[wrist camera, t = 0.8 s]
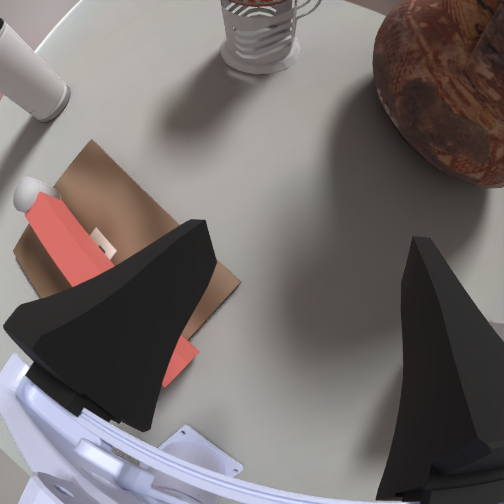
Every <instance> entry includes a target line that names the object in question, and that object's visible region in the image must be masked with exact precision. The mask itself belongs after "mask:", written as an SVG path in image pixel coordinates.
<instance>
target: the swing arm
mask: <svg viewBox="0 0 504 504" xmlns="http://www.w3.org/2000/svg"><path fill="white" fill-rule="evenodd" d="M14 206H15V208H16V209H17V210H18V211H21V212H24V213H26V214H25V217H26V218H27V220H28V222H29V223H30V225H31V227H32V228H33V230H34V231H35V233H36V235H37V236H38V238H39V239H40V241H41V243H42V244H43V246H44V247H45V249H46V250H47V252H48V253H49V255H50V256H51V258H52V259H53V260H54V262H55V263H56V265H57V266H58V268H59V269H60V270H61V272H62V273H63V275H64V276H65V277H66V279H67V280H68V281H69V283H70V284H71V285H72V287H74V286H76V285H78V284H80V283H83V282H85V281H87V280H89V279H91V278H94V277H95V276H97V275H99V274H101V273H103V272H105V271H107V270H109V269H111V268H112V267H114V266H115V265H114V264H113V263H112V262H111V261H110V260H109V258H108V257H107V256H106V255H105V254H104V253H103V251H102V250H101V249H100V248H99V247H98V245H97V244H96V243H95V242H94V241H93V239H92V238H91V237H90V236H89V235H88V233H87V232H86V231H85V230H84V228H83V227H82V226H81V225H80V223H79V222H78V221H77V219H76V218H75V217H74V216H73V214H72V213H71V212H70V210H69V209H68V208H67V206H66V205H65V204H64V202H63V201H62V200H60V194H59V192H58V190H57V189H55V188H53V187H51V186H49V185H47V184H45V183H42V182H40V181H38V180H36V179H34V178H32V177H29V176H28V177H25V178H23V179H22V180H21V181H20V182H19V184H18V185H17V187H16V190H15V193H14ZM198 353H199V351H198V350H197V349H196V348H195V347H194V346H193V345H192V344H191V343H190V342H188V341H187V340H186V339H185V338H184V337H183V336H182V335H181V336H180V338H179V340H178V342H177V345H176V347H175V350H174V352H173V355H172V357H171V360H170V362H169V365H168V368H167V371H166V374H165V376H164V379H163V382H162V386H164V387H166V386H167V385H168V384H169V383H170V382H171V381H172V380H173V379H174V378H175V377H176V376H177V375H178V374H179V373H180V372H181V371H182V370H183V369H184V368H185V367H186V366H187V365H188V364H189V363H190V361H191V360H192V359H193V358H194V357H195V356H196V355H197V354H198Z"/></svg>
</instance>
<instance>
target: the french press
mask: <svg viewBox="0 0 504 504" xmlns="http://www.w3.org/2000/svg"><path fill="white" fill-rule="evenodd" d="M310 1H311V0H308V1H307V2H306V3H304V4H303V5H301V6H298V7H297V0H295V7H294V8H293V9H292V0H221V7H222V13H223V19H224V25H225V31H226V37H225V39H224V41H223V42H222V44H221V56H222V58H223V59H224V61H225V62H226V63H227V65H229V66H231V67H233V68H235V69H236V70H238V71H241V72H246V73H251V74H272V73H275V72H278V71H281V70H284V69H287V68H288V67H290V66H291V65H292V64H293V63H295V62H296V61H297V60H298V57H299V55H300V52H301V49H300V45H299V41H298V40H297V39H296V38H295V29H296V21H297V20H298V19H299V18H301V17H303V16H306V15H308V14H310V13H311V12H312V11H314V10H315V9H316V8H317V7H318V5H319V4H320V2H321V0H319V1H318V3H317V4H316V5H315V7H314V8H313V9H311V10H310V11H309V12H307V13H305V14H302V15H300V16H298V17H296V10H297V9H299V8H301V7H303V6H305V5H306V4H307V3H309V2H310ZM232 2H233V3H236V4H235V5H233V6H232V7H231V8H230V9H229V10H228V11H227V10H226V9H225V8H226V7H227V6H228V5H230V4H231V3H232ZM276 4H277V6H276ZM239 5H243V6H242V7H241V8H240V9H239V10H237V11H236V12H235V13H231V12H232V11H233V10H234V9H235V8H237V7H238V6H239ZM248 6H251V7H258V8H253V9H249V10H248V11H246V12H245V13H244V14H242V15H241V16H238V14H239V13H240V12H242V11H243V10H244V9H246V8H247V7H248ZM261 6H270V7H272V8H274V9H276V12H274V11H272V10H270V9H265V8H260V7H261ZM258 11H261V12H266V13H270V14H272V15H274V16H273V17H270V16H265V15H261V14H258V15H253V16H250V17H245V16H246V15H248V14H250V13H253V12H258ZM292 18H293V22H292V23H291V19H292ZM233 27H234V29H233ZM290 27H292V30H291V31H290Z"/></svg>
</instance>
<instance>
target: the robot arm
mask: <svg viewBox="0 0 504 504" xmlns="http://www.w3.org/2000/svg"><path fill="white" fill-rule="evenodd" d="M216 264H217V260H216V257H215V253H214V249H213V246H212V242H211V239H210V235H209V231H208V228H207V224H206V220H196V219H191V220H189V221H187V222H185V223H183V224H181V225H180V226H178V227H176V228H175V229H173V230H171V231H170V232H168V233H167V234H165V235H164V236H162V237H160V238H159V239H157V240H156V241H154V242H153V243H151V244H150V245H148V246H147V247H145V248H144V249H142V250H140V251H139V252H137V253H135V254H134V255H132V256H131V257H129V258H127V259H126V260H124V261H123V262H121V263H119V264H118V265H116V266H114V267H112V268H111V269H109V270H107V271H105V272H103V273H101V274H99V275H97V276H95V277H94V278H91V279H89V280H87V281H85V282H83V283H80V284H78V285H76V286H74V287H72V288H69V289H67V290H64V291H62V292H59V293H56V294H54V295H51V296H48V297H45V298H42V299H38V300H35V301H31V302H28V303H24V304H21V305H20V306H19V307H17V308H16V309H15V311H14V312H13V313H12V315H11V316H10V317H9V318H8V320H7V321H6V322H5V324H4V325H3V328H4V330H5V331H6V333H7V334H8V335H9V336H10V337H11V339H12V340H13V341H14V342H15V343H16V344H17V345H18V346H19V347H20V348H21V349H22V350H23V351H24V352H25V353H26V354H27V355H28V356H29V357H30V358H31V359H32V360H33V361H34V362H33V364H32V365H31V366H30V365H29V364H28V363H27V362H26V361H25V360H23V359H22V358H21V357H20V356H19V355H18V354H17V353H13V354H12V356H11V357H10V359H9V360H8V362H7V363H6V365H5V366H4V368H3V369H2V371H1V372H0V414H1V416H2V418H3V420H4V421H5V424H6V426H7V428H8V430H9V432H10V434H11V436H12V438H13V440H14V441H15V443H16V445H17V447H18V449H19V451H20V452H21V454H22V456H23V458H24V459H25V461H26V463H27V464H28V466H29V468H30V469H31V471H32V472H33V474H32V476H31V478H30V480H29V482H28V484H27V486H26V488H25V490H24V492H23V494H22V496H21V499H20V501H19V503H18V504H219V500H220V496H221V497H224V498H228V499H231V500H234V501H237V502H240V503H244V504H504V341H503V340H502V339H501V338H500V336H499V335H498V334H497V333H496V331H495V330H494V329H493V327H492V326H491V325H490V323H489V322H488V321H487V320H486V318H485V317H484V316H483V314H482V313H481V312H480V310H479V309H478V308H477V306H476V305H475V303H474V302H473V300H472V299H471V298H470V296H469V295H468V293H467V292H466V290H465V289H464V288H463V286H462V285H461V283H460V282H459V280H458V279H457V277H456V276H455V274H454V273H453V271H452V270H451V268H450V267H449V265H448V264H447V262H446V261H445V259H444V258H443V256H442V255H441V253H440V252H439V250H438V249H437V247H436V246H435V244H434V243H433V242H432V240H431V239H430V238H424V237H415V236H413V238H412V242H411V247H410V251H409V255H408V259H407V263H406V267H405V271H404V275H403V279H402V282H401V320H402V338H403V383H402V391H401V399H400V406H399V412H398V417H397V423H396V428H395V433H394V437H393V441H392V445H391V449H390V453H389V457H388V460H387V464H386V467H385V470H384V473H383V476H382V479H381V482H380V485H379V488H378V492H377V496H376V500H384V501H401V500H402V502H365V501H350V500H339V499H331V498H323V497H316V496H309V495H303V494H298V493H292V492H287V491H282V490H278V489H273V488H269V487H265V486H261V485H257V484H253V483H250V482H246V481H243V480H239V479H236V478H233V477H234V476H236V475H237V474H238V473H240V472H241V471H242V470H243V465H242V464H240V463H239V462H237V461H236V460H234V459H233V458H231V457H230V456H229V455H227V454H226V453H224V452H223V451H221V450H220V449H219V448H217V447H216V446H215V445H213V444H212V443H211V442H209V441H208V440H207V439H205V438H204V437H203V436H201V435H200V434H199V433H197V432H196V431H195V430H194V429H192V428H191V427H190V426H188V425H183V426H182V427H181V428H180V429H179V430H177V431H176V432H175V433H174V434H173V435H172V436H171V437H169V438H168V439H167V440H166V441H165V442H164V443H162V444H161V445H160V446H159V447H158V448H155V447H153V446H151V445H149V444H147V443H145V442H143V441H141V440H139V439H137V438H135V437H133V436H131V435H130V434H128V433H126V432H124V431H122V430H120V429H119V428H117V427H115V426H113V425H112V424H110V423H109V422H110V420H113V421H115V422H117V423H118V424H119V423H121V421H122V422H124V423H125V424H127V425H129V426H131V427H133V428H135V429H137V430H139V431H141V432H145V431H148V430H150V429H151V424H152V420H153V415H154V411H155V407H156V403H157V399H158V396H159V392H160V389H161V386H162V382H163V379H164V376H165V374H166V371H167V368H168V365H169V362H170V360H171V357H172V355H173V352H174V350H175V347H176V345H177V342H178V340H179V338H180V336H181V334H182V332H183V330H184V328H185V327H186V325H187V323H188V321H189V319H190V318H191V316H192V314H193V312H194V310H195V309H196V307H197V305H198V303H199V302H200V300H201V298H202V296H203V294H204V293H205V291H206V289H207V287H208V285H209V283H210V280H211V278H212V275H213V273H214V270H215V267H216ZM182 431H184V432H185V433H182ZM111 445H112V446H114V447H115V448H117V449H119V450H120V451H122V452H124V453H126V454H127V455H129V456H131V457H133V458H135V459H136V460H138V461H140V463H139V466H138V465H136V464H134V463H132V462H130V461H128V460H126V459H124V458H122V457H120V456H118V455H116V454H114V453H113V452H112V447H111ZM234 469H236V470H237V471H235V470H234Z"/></svg>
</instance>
